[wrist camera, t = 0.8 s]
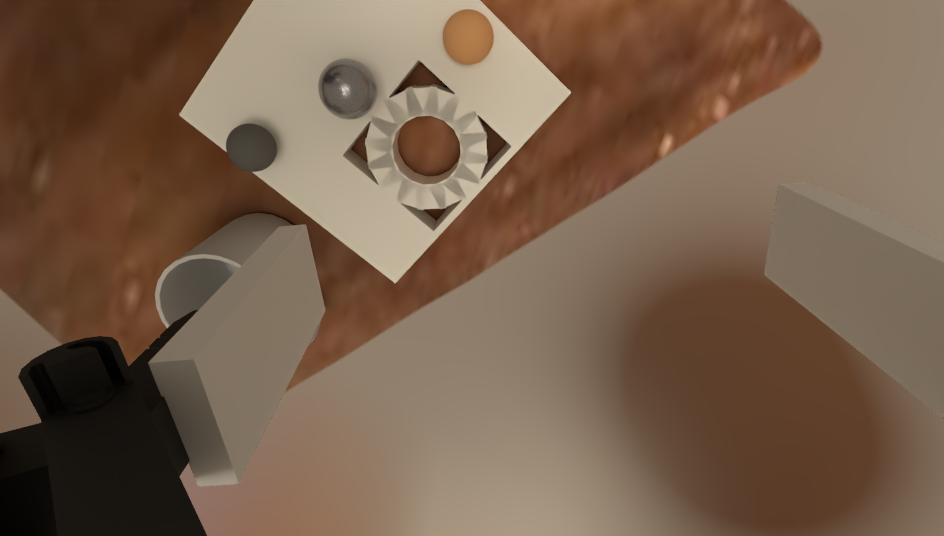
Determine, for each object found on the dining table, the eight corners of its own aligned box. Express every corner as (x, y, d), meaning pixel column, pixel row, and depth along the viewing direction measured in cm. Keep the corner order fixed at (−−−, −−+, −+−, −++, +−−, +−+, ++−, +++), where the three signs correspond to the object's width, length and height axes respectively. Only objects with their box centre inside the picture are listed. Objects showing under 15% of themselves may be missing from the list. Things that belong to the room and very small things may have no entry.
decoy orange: (434, 40, 32) (430, 39, 29) (466, -1, 31) (465, -6, 28) (470, 74, 33) (469, 77, 30) (503, 35, 32) (505, 34, 29)
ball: (315, 89, 33) (298, 94, 30) (348, 45, 32) (334, 44, 29) (359, 127, 34) (347, 135, 31) (393, 85, 33) (384, 89, 30)
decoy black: (229, 145, 35) (208, 154, 32) (253, 110, 34) (234, 116, 31) (267, 175, 35) (249, 186, 33) (292, 142, 34) (276, 150, 32)
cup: (257, 191, 38) (198, 229, 30) (360, 279, 41) (332, 337, 33) (202, 254, 40) (132, 307, 32) (303, 335, 43) (263, 402, 35)
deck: (197, 110, 36) (178, 114, 34) (353, -124, 31) (343, -138, 29) (399, 270, 41) (395, 283, 38) (565, 89, 35) (571, 92, 33)
